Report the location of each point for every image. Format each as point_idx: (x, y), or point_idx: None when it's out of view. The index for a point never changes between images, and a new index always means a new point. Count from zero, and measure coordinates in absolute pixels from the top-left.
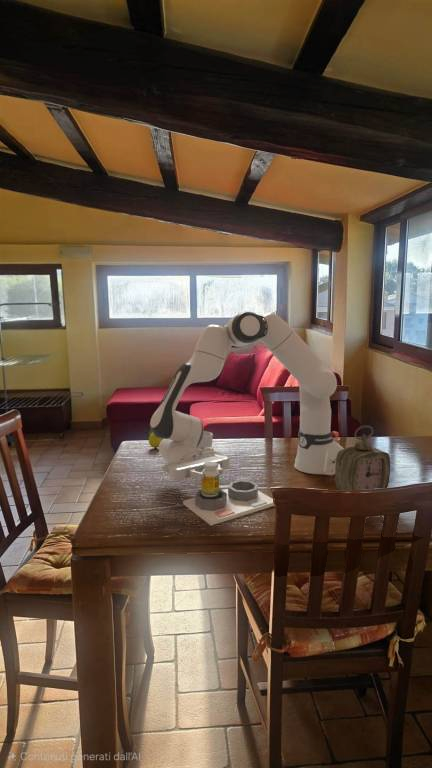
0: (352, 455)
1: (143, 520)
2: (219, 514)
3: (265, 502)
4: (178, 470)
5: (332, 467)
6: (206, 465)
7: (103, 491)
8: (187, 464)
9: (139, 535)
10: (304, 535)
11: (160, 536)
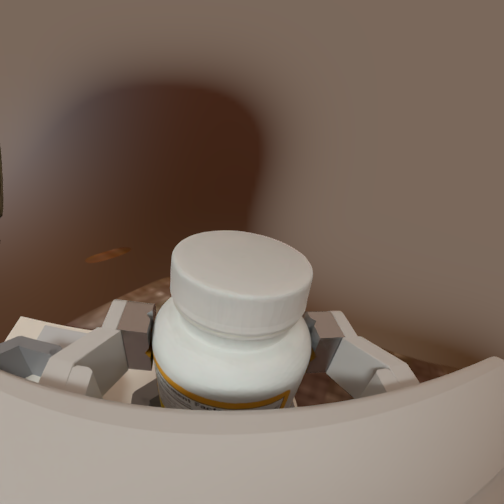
0: None
1: None
2: None
3: (48, 326)
4: (488, 358)
5: None
6: (297, 251)
7: None
8: (460, 444)
9: (451, 372)
10: (121, 248)
11: (410, 358)
